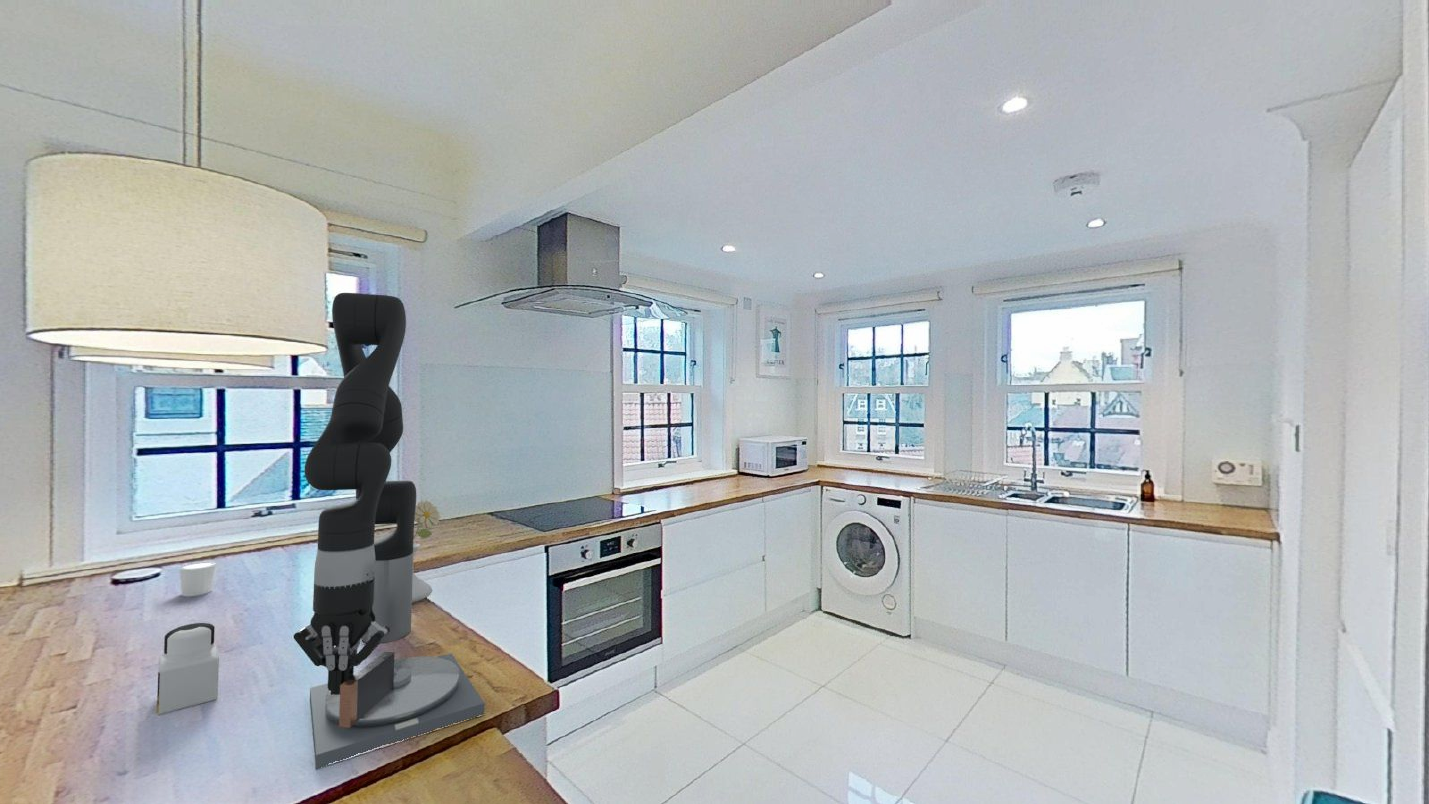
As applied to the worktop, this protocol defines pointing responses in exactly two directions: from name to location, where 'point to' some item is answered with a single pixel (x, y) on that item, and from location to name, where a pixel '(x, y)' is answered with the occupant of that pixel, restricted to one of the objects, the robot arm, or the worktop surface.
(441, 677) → the rotary knob
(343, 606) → the robot arm
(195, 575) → the white cup
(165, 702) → the grey handled container
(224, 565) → the worktop surface
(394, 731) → the plinth
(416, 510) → the flower in vase
